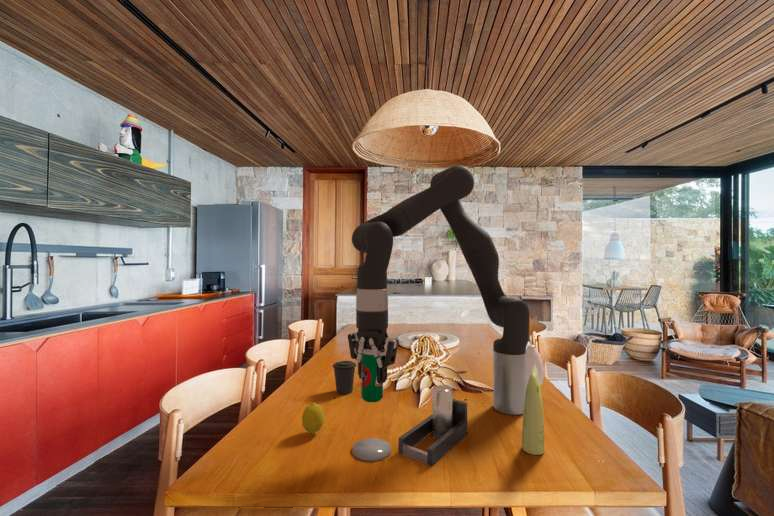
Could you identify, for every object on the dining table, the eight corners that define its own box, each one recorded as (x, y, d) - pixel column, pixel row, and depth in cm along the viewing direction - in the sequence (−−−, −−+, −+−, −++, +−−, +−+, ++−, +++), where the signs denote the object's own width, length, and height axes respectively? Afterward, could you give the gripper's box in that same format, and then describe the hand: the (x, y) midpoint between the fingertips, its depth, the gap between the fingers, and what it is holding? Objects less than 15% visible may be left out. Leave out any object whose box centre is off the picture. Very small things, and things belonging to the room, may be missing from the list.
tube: (551, 455, 81) (551, 370, 81) (531, 458, 79) (531, 371, 80) (535, 443, 86) (535, 362, 86) (517, 445, 85) (516, 364, 85)
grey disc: (369, 437, 89) (369, 434, 89) (398, 448, 84) (398, 446, 84) (344, 452, 82) (344, 449, 82) (374, 466, 76) (374, 463, 76)
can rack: (436, 424, 96) (436, 394, 96) (467, 433, 91) (467, 402, 91) (398, 452, 82) (398, 418, 82) (432, 466, 76) (432, 429, 76)
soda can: (380, 404, 80) (380, 351, 80) (358, 402, 81) (358, 349, 81) (384, 395, 85) (385, 345, 85) (364, 394, 86) (364, 344, 86)
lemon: (327, 430, 92) (328, 400, 92) (316, 441, 87) (317, 408, 87) (309, 427, 94) (309, 397, 94) (297, 437, 89) (297, 405, 89)
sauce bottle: (515, 389, 122) (514, 337, 122) (525, 384, 127) (525, 334, 127) (537, 396, 116) (537, 341, 116) (547, 390, 121) (547, 337, 121)
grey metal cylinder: (438, 429, 93) (438, 383, 93) (456, 435, 90) (456, 388, 90) (428, 437, 89) (428, 389, 89) (446, 443, 86) (446, 394, 86)
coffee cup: (361, 390, 121) (361, 361, 121) (346, 398, 114) (346, 367, 114) (342, 385, 125) (342, 357, 125) (327, 393, 118) (327, 363, 119)
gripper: (406, 308, 82) (406, 382, 82) (359, 303, 90) (359, 370, 90) (386, 312, 76) (386, 392, 76) (338, 307, 84) (338, 378, 84)
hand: (372, 379), depth 83 cm, fingers closed on soda can, 5 cm apart
